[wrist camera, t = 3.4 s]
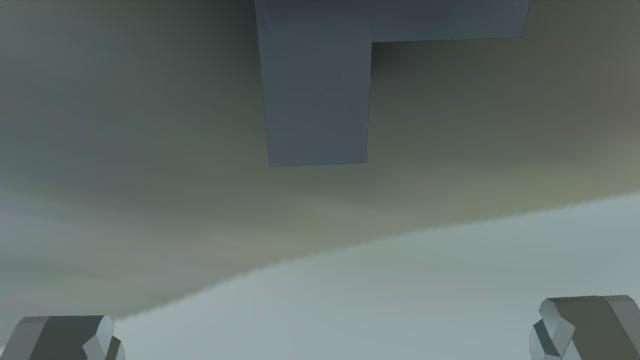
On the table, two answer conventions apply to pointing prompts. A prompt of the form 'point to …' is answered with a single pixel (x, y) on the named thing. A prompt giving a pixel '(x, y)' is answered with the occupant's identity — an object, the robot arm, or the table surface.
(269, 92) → the bracket
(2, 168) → the table surface
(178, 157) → the table surface
